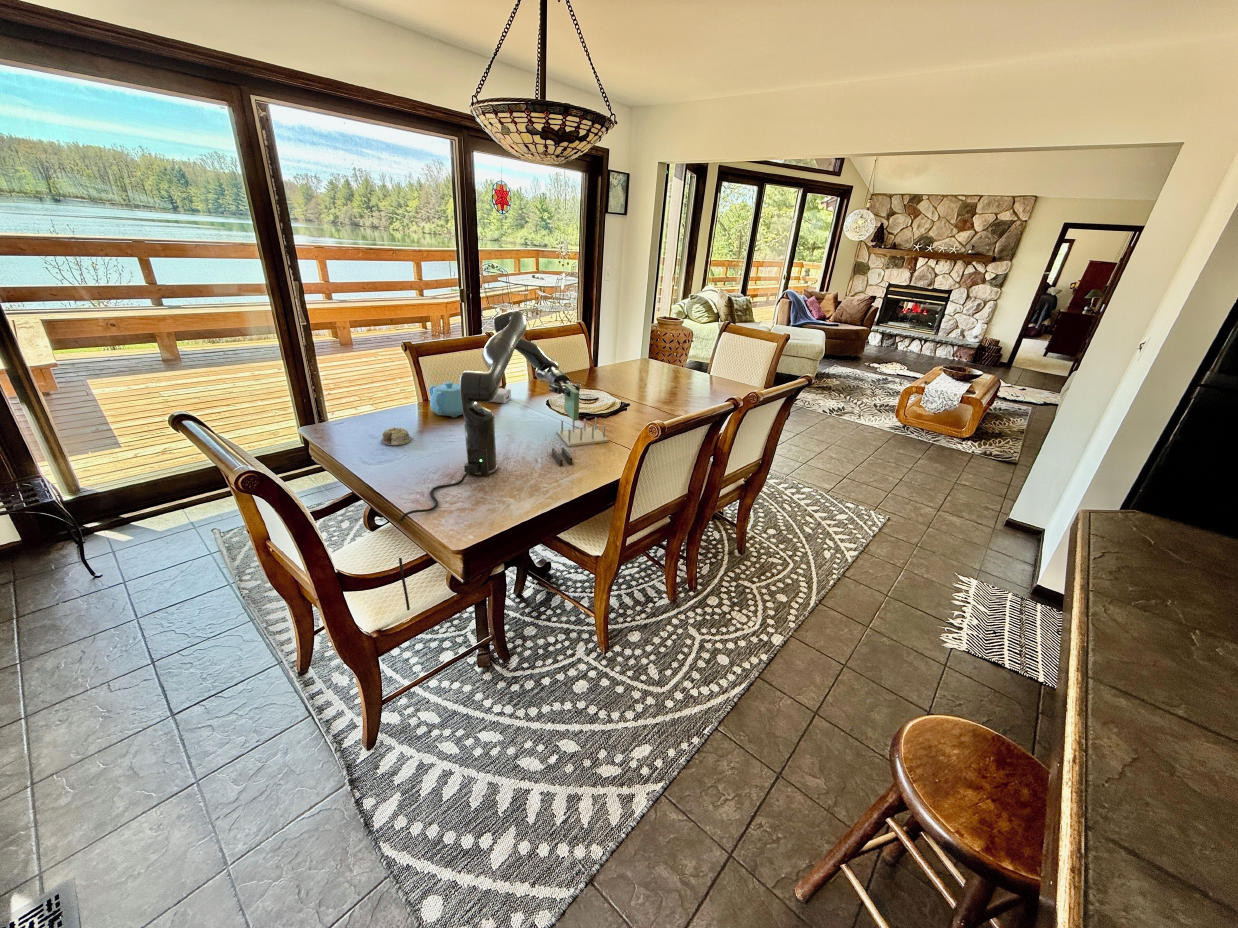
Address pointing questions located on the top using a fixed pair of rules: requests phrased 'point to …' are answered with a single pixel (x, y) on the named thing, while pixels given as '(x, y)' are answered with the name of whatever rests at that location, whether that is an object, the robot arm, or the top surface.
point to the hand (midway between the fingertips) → (572, 394)
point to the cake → (395, 436)
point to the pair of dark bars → (558, 458)
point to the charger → (502, 395)
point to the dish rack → (582, 435)
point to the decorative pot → (446, 399)
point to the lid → (572, 403)
